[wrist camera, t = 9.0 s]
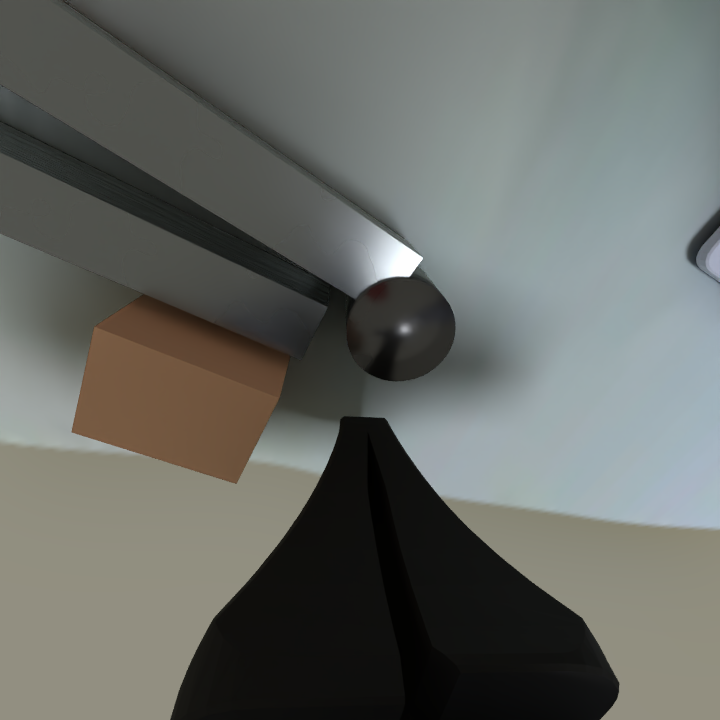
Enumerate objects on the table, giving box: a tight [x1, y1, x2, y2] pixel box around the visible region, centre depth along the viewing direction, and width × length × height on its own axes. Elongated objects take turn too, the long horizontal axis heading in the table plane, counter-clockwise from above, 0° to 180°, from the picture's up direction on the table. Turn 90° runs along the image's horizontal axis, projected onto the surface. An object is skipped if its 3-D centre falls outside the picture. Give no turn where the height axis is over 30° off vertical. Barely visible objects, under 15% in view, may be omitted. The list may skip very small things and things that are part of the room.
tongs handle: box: [0, 122, 330, 360], centre depth 8 cm, size 13×2×2 cm, turn 62°
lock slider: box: [72, 294, 290, 484], centre depth 10 cm, size 4×3×3 cm
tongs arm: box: [0, 0, 455, 381], centre depth 8 cm, size 16×3×2 cm, turn 57°
